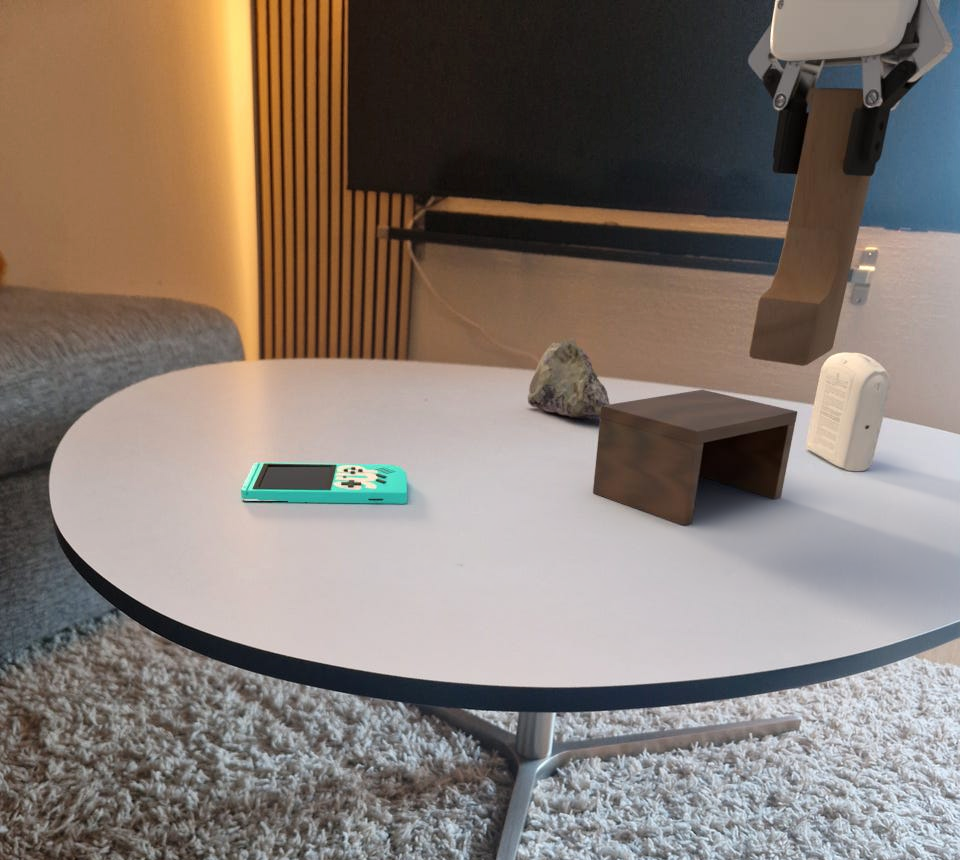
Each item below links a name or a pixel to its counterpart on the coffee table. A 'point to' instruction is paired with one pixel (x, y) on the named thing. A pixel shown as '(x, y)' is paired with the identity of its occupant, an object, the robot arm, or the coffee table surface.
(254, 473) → the handheld game console
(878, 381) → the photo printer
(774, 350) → the wooden block
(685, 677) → the coffee table surface
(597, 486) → the shelf
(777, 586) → the coffee table surface
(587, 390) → the mineral rock
